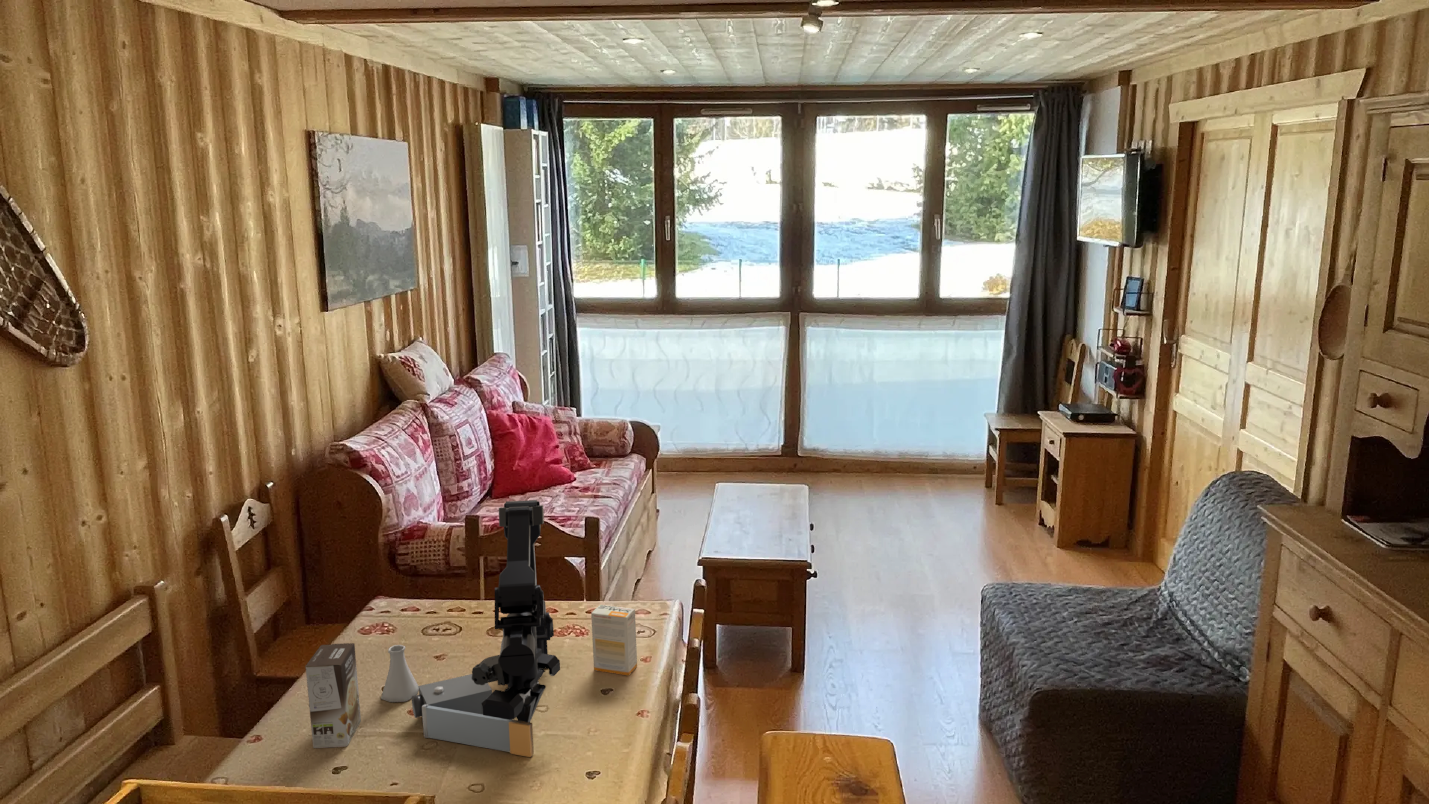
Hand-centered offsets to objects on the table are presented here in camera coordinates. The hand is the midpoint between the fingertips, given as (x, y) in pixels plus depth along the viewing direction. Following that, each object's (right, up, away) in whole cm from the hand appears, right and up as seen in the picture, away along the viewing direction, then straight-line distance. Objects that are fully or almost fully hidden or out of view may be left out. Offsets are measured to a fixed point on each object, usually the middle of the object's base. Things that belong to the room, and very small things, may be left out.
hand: (524, 727), depth 177 cm
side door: (-9, -4, +2) cm, 10 cm away
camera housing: (-15, -2, +12) cm, 19 cm away
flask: (-29, 0, +21) cm, 35 cm away
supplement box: (+13, +2, +31) cm, 33 cm away
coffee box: (-36, -3, +6) cm, 36 cm away
